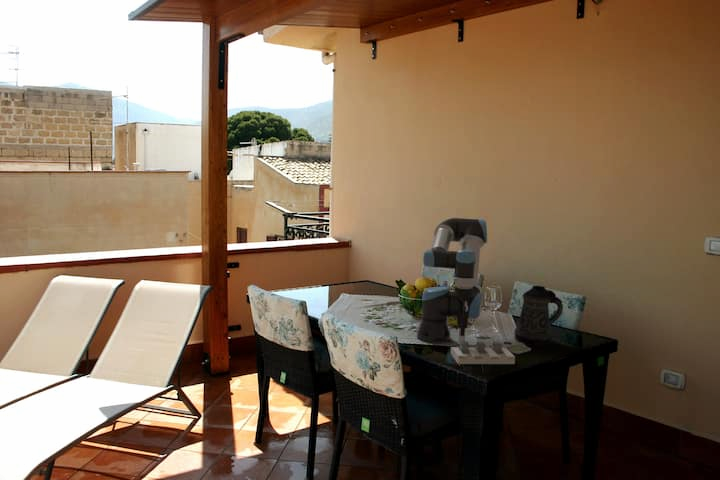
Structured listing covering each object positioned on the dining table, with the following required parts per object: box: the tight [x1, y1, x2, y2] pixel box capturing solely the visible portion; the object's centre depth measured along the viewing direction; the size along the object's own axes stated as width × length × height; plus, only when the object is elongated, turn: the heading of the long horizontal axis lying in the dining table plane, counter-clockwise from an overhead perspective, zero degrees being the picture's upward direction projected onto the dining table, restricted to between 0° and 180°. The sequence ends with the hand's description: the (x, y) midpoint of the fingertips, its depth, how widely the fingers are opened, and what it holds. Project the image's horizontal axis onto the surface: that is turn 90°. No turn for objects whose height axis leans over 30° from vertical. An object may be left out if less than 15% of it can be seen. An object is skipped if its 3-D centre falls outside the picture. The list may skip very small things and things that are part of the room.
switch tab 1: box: [459, 340, 469, 353], centre depth 244 cm, size 4×3×4 cm
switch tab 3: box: [492, 341, 502, 353], centre depth 246 cm, size 4×3×4 cm
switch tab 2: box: [475, 340, 486, 353], centre depth 245 cm, size 4×3×4 cm
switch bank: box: [450, 346, 516, 365], centre depth 243 cm, size 13×23×3 cm, turn 95°
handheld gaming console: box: [490, 339, 532, 355], centre depth 259 cm, size 10×2×15 cm
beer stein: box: [514, 285, 564, 346], centre depth 271 cm, size 16×19×25 cm
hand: (461, 342), depth 249 cm, fingers closed
